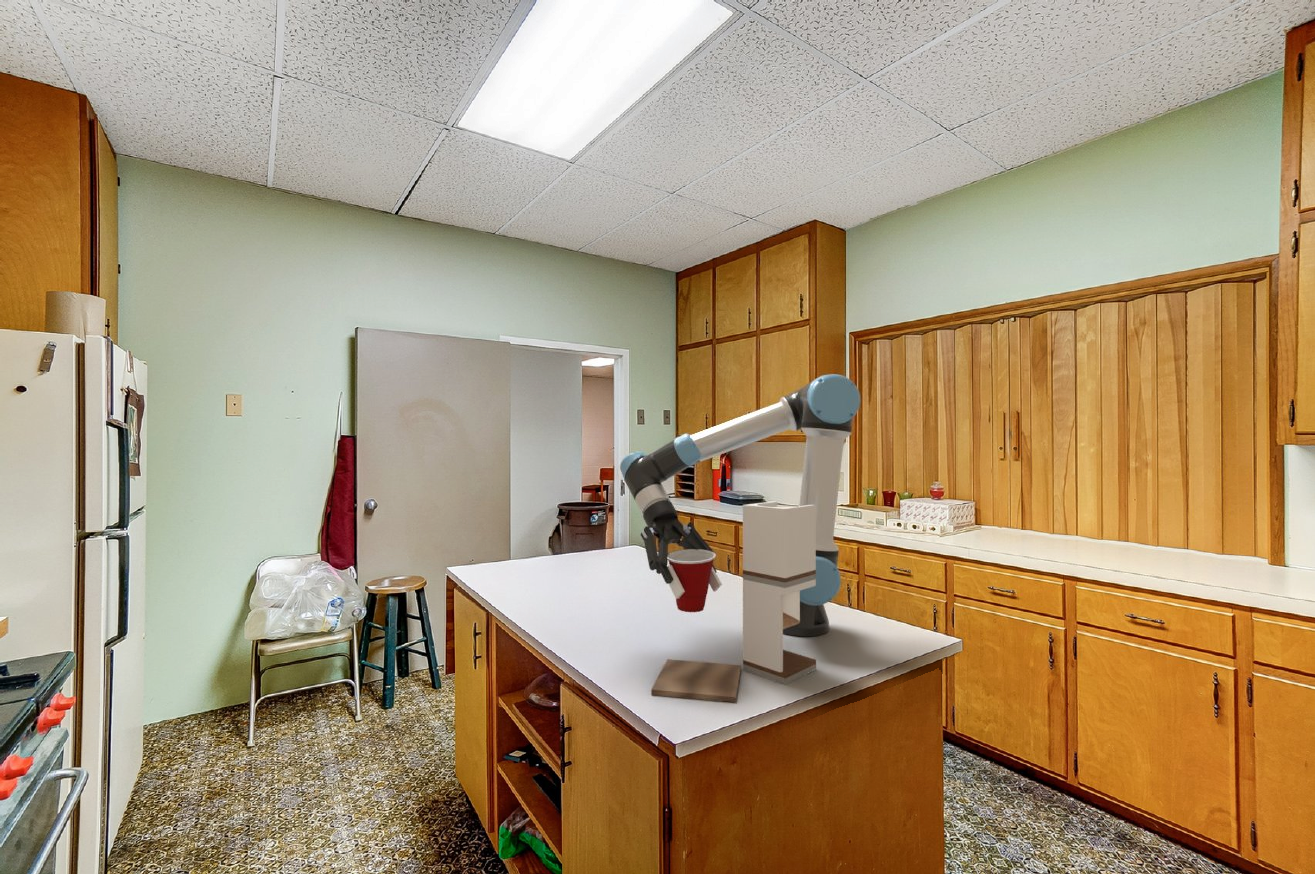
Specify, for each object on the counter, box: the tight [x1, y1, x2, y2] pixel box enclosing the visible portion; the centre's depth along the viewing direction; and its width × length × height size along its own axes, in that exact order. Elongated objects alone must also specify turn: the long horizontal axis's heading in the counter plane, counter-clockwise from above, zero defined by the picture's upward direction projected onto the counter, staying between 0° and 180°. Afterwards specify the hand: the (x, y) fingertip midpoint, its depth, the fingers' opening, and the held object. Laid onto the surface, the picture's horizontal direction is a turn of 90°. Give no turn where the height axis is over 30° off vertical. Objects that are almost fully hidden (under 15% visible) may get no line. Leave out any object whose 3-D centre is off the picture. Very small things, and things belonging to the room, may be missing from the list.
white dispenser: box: [742, 501, 817, 685], centre depth 123 cm, size 11×11×35 cm
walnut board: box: [650, 658, 742, 703], centre depth 117 cm, size 16×16×1 cm
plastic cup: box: [667, 549, 717, 613], centre depth 125 cm, size 11×11×12 cm
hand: (699, 591), depth 122 cm, fingers closed on plastic cup, 10 cm apart
